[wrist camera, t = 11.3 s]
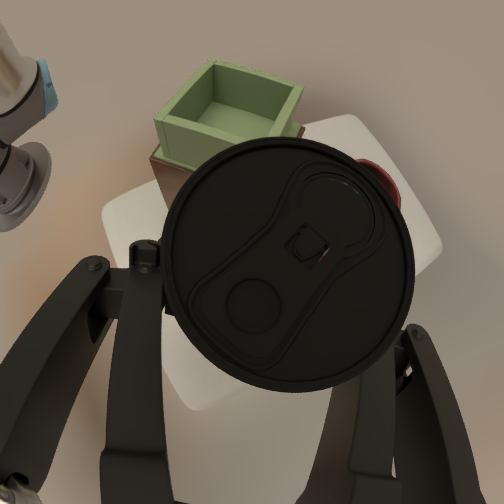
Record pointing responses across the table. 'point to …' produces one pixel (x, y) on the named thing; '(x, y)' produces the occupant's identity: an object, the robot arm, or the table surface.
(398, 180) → the table surface
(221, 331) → the beverage can
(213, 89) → the open box
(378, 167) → the bowl
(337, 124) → the table surface
